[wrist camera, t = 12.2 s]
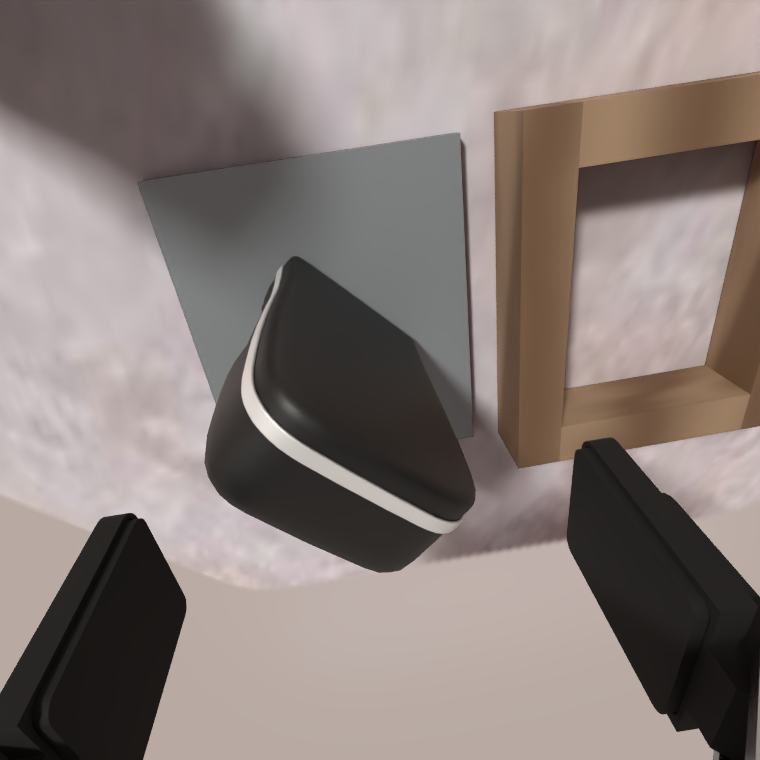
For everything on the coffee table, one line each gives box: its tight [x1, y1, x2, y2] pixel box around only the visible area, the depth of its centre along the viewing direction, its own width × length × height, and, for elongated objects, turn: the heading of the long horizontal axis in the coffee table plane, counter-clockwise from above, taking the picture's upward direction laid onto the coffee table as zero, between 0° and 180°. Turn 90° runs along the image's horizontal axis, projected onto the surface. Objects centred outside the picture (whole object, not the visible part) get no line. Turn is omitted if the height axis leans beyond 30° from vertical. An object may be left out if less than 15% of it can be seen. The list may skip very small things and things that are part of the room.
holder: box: [494, 72, 760, 468], centre depth 21 cm, size 13×15×3 cm
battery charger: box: [205, 256, 476, 573], centre depth 16 cm, size 7×4×11 cm, turn 51°
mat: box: [137, 133, 473, 439], centre depth 21 cm, size 12×14×1 cm
